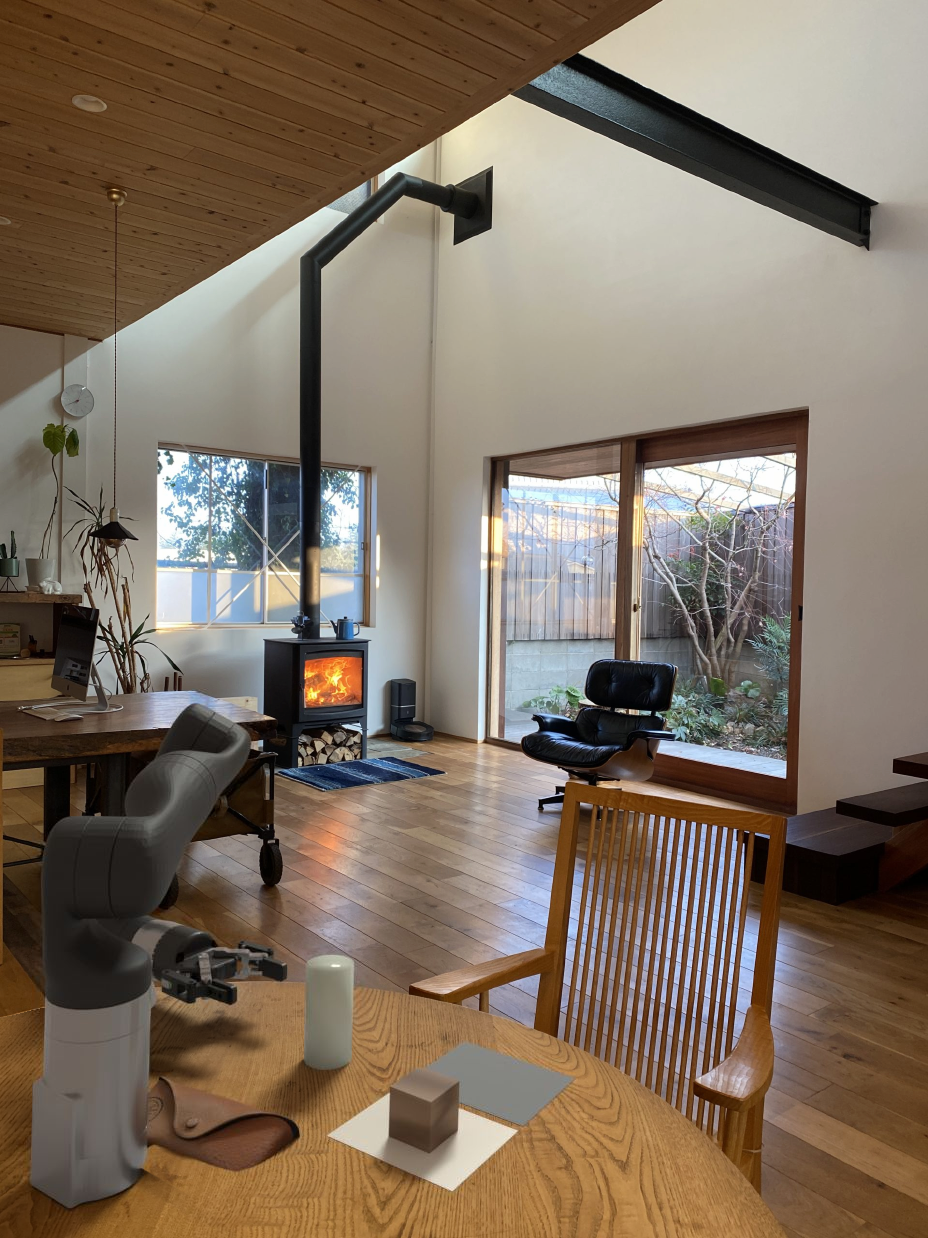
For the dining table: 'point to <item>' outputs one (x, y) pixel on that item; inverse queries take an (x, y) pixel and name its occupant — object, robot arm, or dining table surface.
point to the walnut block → (424, 1109)
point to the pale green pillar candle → (328, 1012)
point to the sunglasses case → (214, 1127)
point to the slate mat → (500, 1082)
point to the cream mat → (438, 1167)
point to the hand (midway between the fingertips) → (260, 984)
